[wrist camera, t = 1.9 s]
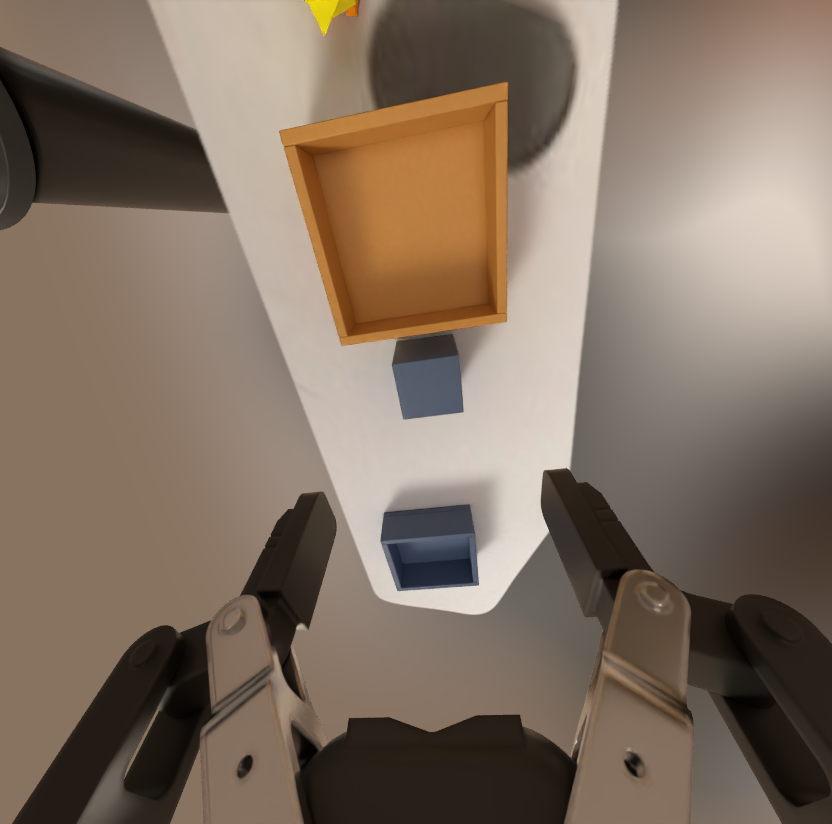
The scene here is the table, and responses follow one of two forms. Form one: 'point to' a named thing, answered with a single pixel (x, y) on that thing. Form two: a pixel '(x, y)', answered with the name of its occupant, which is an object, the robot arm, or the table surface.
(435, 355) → the blue block
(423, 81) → the table surface
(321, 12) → the toy figure
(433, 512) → the blue bin
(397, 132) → the ochre bin
